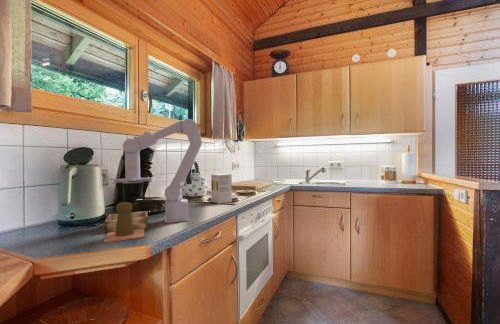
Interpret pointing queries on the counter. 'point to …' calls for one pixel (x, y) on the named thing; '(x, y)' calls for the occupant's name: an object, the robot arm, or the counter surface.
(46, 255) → the counter surface
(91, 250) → the counter surface
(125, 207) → the cork
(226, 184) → the supplement box
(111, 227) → the birch box
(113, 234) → the terracotta tile
